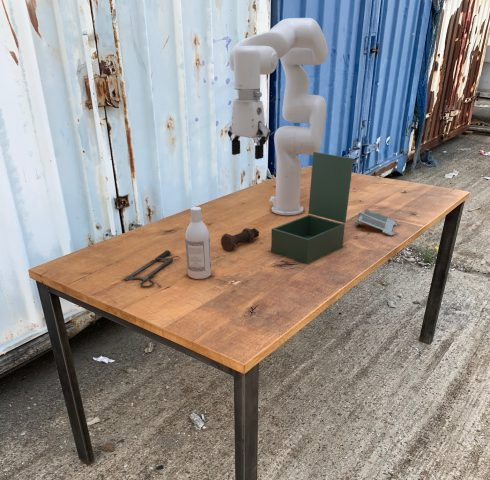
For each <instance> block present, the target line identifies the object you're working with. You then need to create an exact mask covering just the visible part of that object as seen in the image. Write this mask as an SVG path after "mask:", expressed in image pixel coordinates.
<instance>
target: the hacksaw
mask: <svg viewBox="0 0 490 480" xmlns="http://www.w3.org/2000/svg"><path fill="white" fill-rule="evenodd" d="M171 254H172V251H170V250H168V249H166V250H164V251H163V252H162V253H160V254H159V255H157V256H156V257H154V259H152V260H150V261H149V262H147V263H146V264H144V265H143V266H140V268H138V269H137V270H135V271H134V272H132V273H131V274H129V275H127V276H125V278H124V280H125V281H129V280H141V282H140V287H142V288H150V287H152V286H154V284H155V282H154V281H153V280H151V279H152V278H153V277H154V276H155V274H156V273H158V271H160V270H161V269H163V268H165V266H168V265H169V264H170V263H171V262H173V260H174V258H177V259H176V261H178V260H180V259H181V257H180V256H178V255H174V256H171V257H168V256H170V255H171ZM165 257H166V258H165ZM158 261H160V262H161V261H164V262H163V263H162V264H160V265H159V266H158V267H156V268H155V269H153V270H152V271H151V272H150V273H149V274H148V275H146V276H145V277H141V276H140V277H139V276H138V277H137V276H136V275H137V274H139V273H141V272H142V271H143V270H145V269H146V268H148V267H149V266H151V265H152V264H154V263H155V262H158ZM147 281H149V282H150V283H151V284H149V285H143V284H144V283H145V282H147Z"/></svg>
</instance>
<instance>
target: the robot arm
mask: <svg viewBox="0 0 490 480" xmlns="http://www.w3.org/2000/svg"><path fill="white" fill-rule="evenodd" d="M328 50H329V48H328V42H327V39H326V37H325V35H324V32H323V31H322V28H321V26H320V25H319V23H318V22H317V20H315V19H314V18H312V17H288V18H284V19H281V20H279V22H278V23H276V24H275V25H273V27H271V28H270V29H269V30H267V31H264V32H260V33H258V34H254V35H252V36H249V37H246V38H243V39H241V40H240V41H239V42H237V43H236V44H235V45H234V46H233V47H232V49H231V51H230V53H229V57H228V63H229V67H230V69H231V71H232V72H233V88H234V89H233V95H234V96H233V98H234V99H233V101H232V106H231V107H232V108H231V121H229V122H228V123H227V124H225V130H226V131H227V135H228V137H229V141H230V142H231V155H232V156H236V155H240V154H241V139H240V138H242V137H243V138H249V139H253V140H254V142H255V144H256V145H254V159H255V160H261V159H263V158H264V146H265V145H266V143H267V142H268V140H269V137H270V134H271V130H270V129H269V127H267V126H266V120H265V110H264V104H263V101H262V100H261V98H262V96H263V93H262V92H261V76H264V75H265V76H266V75H271V74H272V73H274V72H275V70H276V69H277V67H278V64H279V63H278V62H279V60H280V63H281V66H282V69H283V72H284V76H285V85H284V93H283V101H282V110H281V111H282V112H281V114H282V118H283V120H284V121H286V122H288V123H296V124H309V126H300V125H283V126H280V127H278V128H277V129H276V130H275V132H274V135H273V140H274V141H273V142H274V150H275V161H276V163H275V165H276V166H275V168H276V169H275V170H276V171H275V196H274V195H272V196H270V199H269V200H268V201H269V203H272V204H273V205H272V207H271V211H272V213H274V214H276V215H280V216H297V215H300V214H302V213H304V209H305V208H304V207H303V205H301V186H302V163H301V160H300V158H299V156H298V155H303V156H304V155H305V156H313V152H318V153H320V150H321V147H322V144H323V137H324V129H325V124H326V116H327V103H326V100H325V98H324V96H322V95H319V94H309V88H310V77H309V75H308V73H307V72H306V70H305V69H304V67H303V66H319V65H322V64H324V62H326V59H327V58H328V53H329V51H328Z"/></svg>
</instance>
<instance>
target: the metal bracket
mask: <svg viewBox="0 0 490 480" xmlns="http://www.w3.org/2000/svg"><path fill="white" fill-rule="evenodd" d="M354 223H355V225H356V226H355V227H356V228H358V225H359V224H360V223H363V224H365V225H367V226H370V227H373V228H375V229H379V230H381V231H382V233H383V234H386V235H388V236H394V235H395V234H396V233H395V232H393V229H394V226H398V223H396V221H395V220H393V219H391V218H388V216H386V215H384V214H381V213H379V212H372V211H371V210H369V209H368V208H366V209H365V211H363V210H362V211H361V212H358V215H357V220H355V221H354Z"/></svg>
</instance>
